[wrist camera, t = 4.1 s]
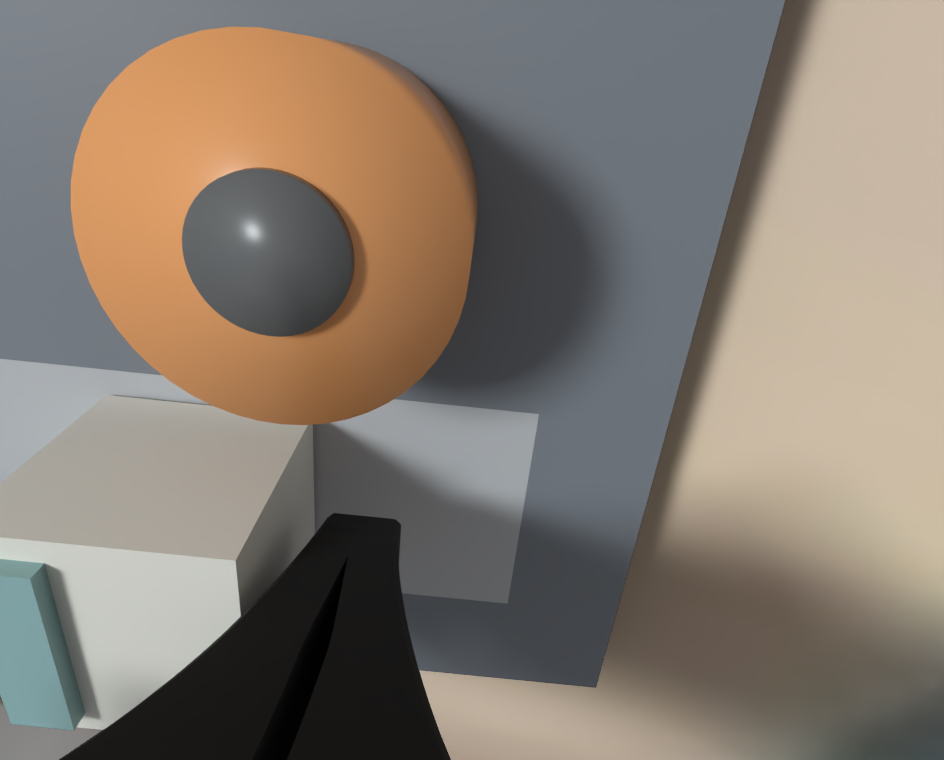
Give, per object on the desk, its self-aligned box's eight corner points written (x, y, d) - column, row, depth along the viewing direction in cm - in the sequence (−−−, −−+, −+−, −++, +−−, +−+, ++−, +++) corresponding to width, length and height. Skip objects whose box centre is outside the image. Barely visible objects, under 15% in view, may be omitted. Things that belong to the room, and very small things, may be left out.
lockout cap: (204, 323, 11) (99, 414, 8) (172, 23, 9) (15, 1, 6) (464, 349, 12) (452, 448, 8) (492, 56, 9) (489, 50, 6)
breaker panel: (-96, 579, 16) (-161, 635, 15) (-920, -1419, 6) (-1487, -2015, 4) (589, 647, 17) (599, 710, 15) (1055, -1161, 6) (1269, -1632, 4)
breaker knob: (136, 553, 14) (-3, 738, 10) (106, 394, 12) (-76, 546, 8) (315, 571, 14) (246, 762, 10) (312, 416, 12) (227, 576, 8)
